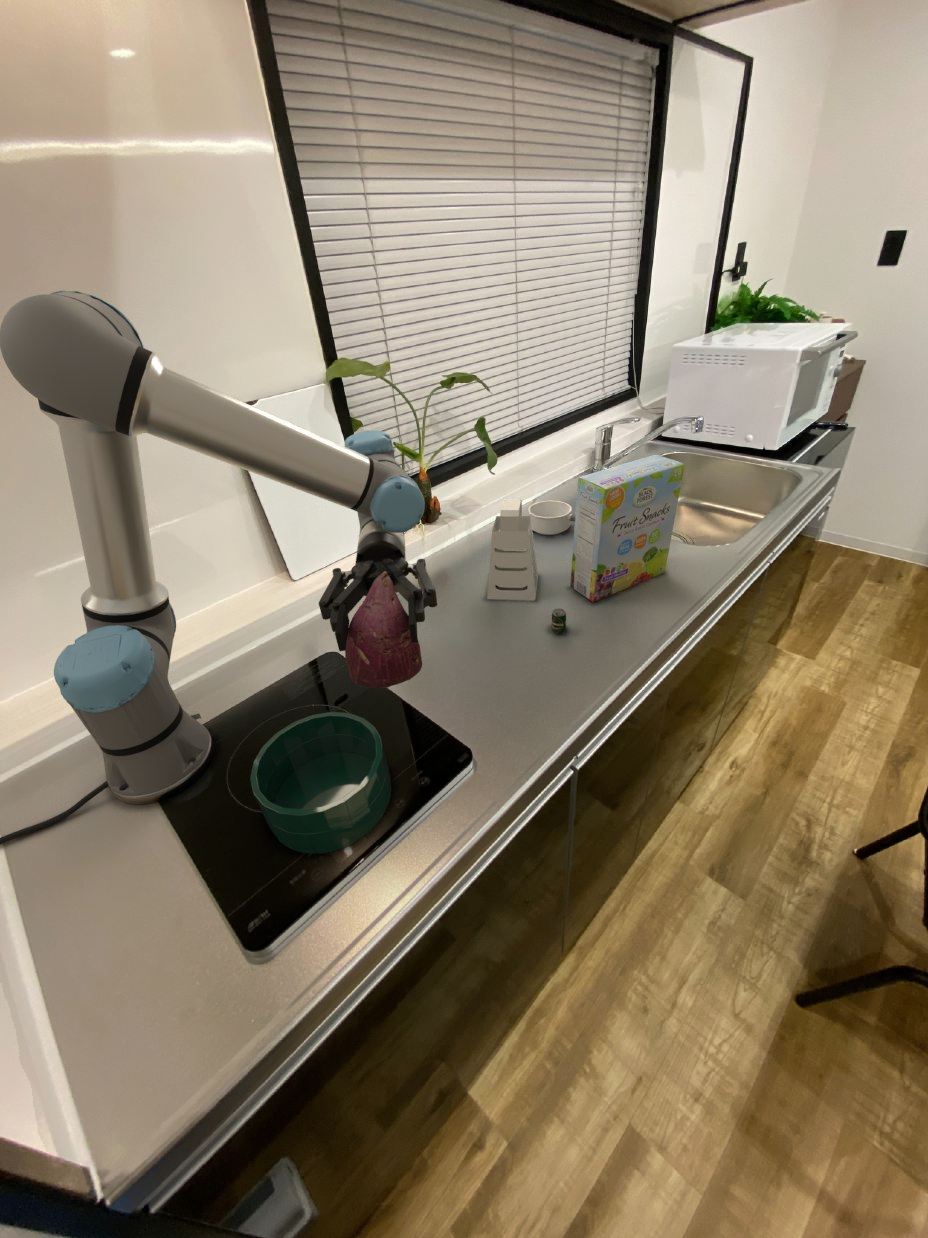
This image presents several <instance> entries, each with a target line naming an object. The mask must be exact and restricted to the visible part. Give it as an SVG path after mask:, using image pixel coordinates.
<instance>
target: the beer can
mask: <svg viewBox="0 0 928 1238" xmlns="http://www.w3.org/2000/svg"><path fill="white" fill-rule="evenodd" d="M551 631H552V632H553V633H554V634H556V635H562V634H563V633H565V632H566V631H567V611H566V610H564V609H563V608H555V609H553V610H552V612H551Z"/></svg>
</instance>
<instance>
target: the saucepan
mask: <svg viewBox="0 0 928 1238" xmlns="http://www.w3.org/2000/svg"><path fill="white" fill-rule="evenodd" d="M572 510H573V507H572V506H571V504H569V503H567V502H564V501H561V500H541V501H538V502H534V503H532V504H531V505H530V506H528V508H527V511H528V513H529V516H531V524H532V532H533V531H534V532H536V533H537V534H540V535H545V536H554V535H559V534H561V533H563V532H565V531H567V530H568V529H569V528H570V526H571V525H570V524H571V522H575V516H576V513H571V512H572Z"/></svg>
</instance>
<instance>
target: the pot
mask: <svg viewBox="0 0 928 1238" xmlns="http://www.w3.org/2000/svg"><path fill="white" fill-rule="evenodd" d="M390 773H391V772H390V769H389V765H388V761H387V757H386V753H385V749H384V745H383V741H382V738H381V736H380V734H379V732H378V730H377V729H376V727H375V726H374V725H373V724H372V723H370V721H368V720H367V719H365V718H364V717H361V716H358V715H356V714H352V713H349V712H338V711H328V712H323V713H322V712H321V713H317V714H311V715H309V716H306V717H304V718H301V719H298V720H295V721H293V722H292V723H290V724H289V725H287V726H285V727H283V728H282V729H281V730H279V731H277V732H276V733H275V734H274V735H272V737H270V738H269V740H268V741H267V742H266V743H265V744H264V745H263V746H262V747H261V748H260V750H259V752H258V754H257V755H256V757H255V759H254V760H253V763H252V768H251V772H250V776H249V779H250V785H251V788H252V794H253V797H254V798H255V800H256V802H257V804H258V806H259V809H260V810H261V812H262V814H263V816H264V819H265V821H266V823H267V825H268V827H269V829H270V831H271V832H272V833H273V835H274V836H275V838H276V839H277V840H278V841H279V843H282V845H283V846H285V847H286V848H288V849H289V850H293V851H296V852H297V853H302V854H311V855H318V854H320V855H321V854H327V853H333V852H336V851H339V850H342V849H344V848H346V847H349V846H352V844H354V843H356V842H358V841H359V840H361V839H362V838H364V837H365V836H367V835H368V834H369V833H370V832H371V831H372V830H373V829H374V828H375V827H376V826H377V824H378V823H379V822H380V821H381V819H382V818H383V816H384V815H385V813H386V811H387V809H388V807H389V804H390V800H391V798H392V797H391V796H392V781H391V774H390Z"/></svg>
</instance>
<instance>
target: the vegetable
mask: <svg viewBox="0 0 928 1238" xmlns="http://www.w3.org/2000/svg"><path fill="white" fill-rule="evenodd" d="M406 611H407V610H405V608H404V606H403V605H402V603H401V600H400V598H399V596H398V594H397V593H396V592H395V588H394V584H393V582H392V580H391V579H390V577H389V576H388V575H387V572H386V571H385V572H383V573H382V574H381V575H379V576H378V577H377V578H376V579H375V581H374V582H373V584H372V586H371V588H370V590H369V592H368V594H367V596H365V598H364V600H363V601H362V603H361V605H360V606H359V607H358V609H357V610H356V611H355V613H354V614H353V616H352V618H351V621H349V628H348V636H347V643H346V651H344V655H345V656H344V657H345V665H346V667H347V670H348V674H349V678H350V680H351V682H353V683H354V684H355V685H357V686H358V687H363V688H364V687H365V688H372V689H381V688H390V687H392V686H396V685H399V684H403V683H404V682H407V681H410V680H412V679H413V678H415V677H416V676H418V674H419V673H420V672H421V670H422V668H423V657H422V652H421V645H420V642H419V641H418V642H413V643H412V641H411V635H410V629H409V613H407V612H406Z"/></svg>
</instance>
